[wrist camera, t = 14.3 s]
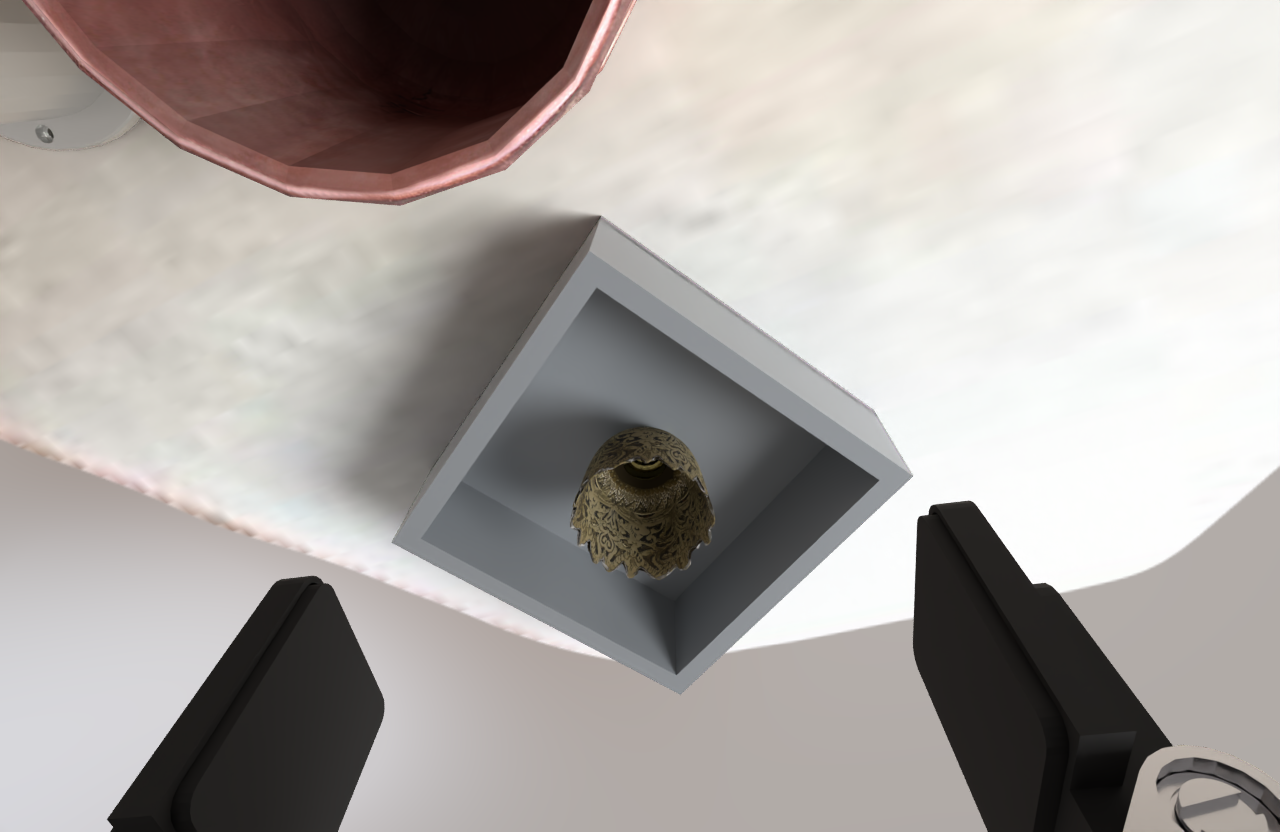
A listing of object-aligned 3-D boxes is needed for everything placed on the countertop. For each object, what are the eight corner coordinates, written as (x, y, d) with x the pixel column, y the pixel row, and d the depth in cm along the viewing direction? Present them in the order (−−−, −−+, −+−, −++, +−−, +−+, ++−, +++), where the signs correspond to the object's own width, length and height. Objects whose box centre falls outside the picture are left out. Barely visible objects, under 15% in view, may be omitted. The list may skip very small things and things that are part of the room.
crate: (430, 470, 46) (391, 542, 39) (601, 215, 38) (589, 250, 31) (677, 609, 50) (680, 694, 44) (873, 409, 43) (913, 476, 36)
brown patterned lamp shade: (631, 370, 41) (624, 436, 34) (730, 435, 43) (744, 511, 35) (562, 458, 44) (543, 537, 37) (658, 516, 45) (657, 602, 38)
